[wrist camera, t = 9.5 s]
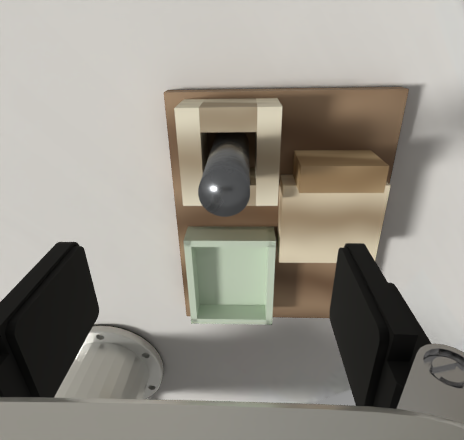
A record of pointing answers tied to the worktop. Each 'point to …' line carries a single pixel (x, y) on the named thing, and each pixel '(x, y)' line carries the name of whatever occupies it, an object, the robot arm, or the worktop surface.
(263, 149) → the holder
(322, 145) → the board
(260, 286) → the tray
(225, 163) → the dowel
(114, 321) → the worktop surface
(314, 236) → the beige cardboard box
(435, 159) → the worktop surface
